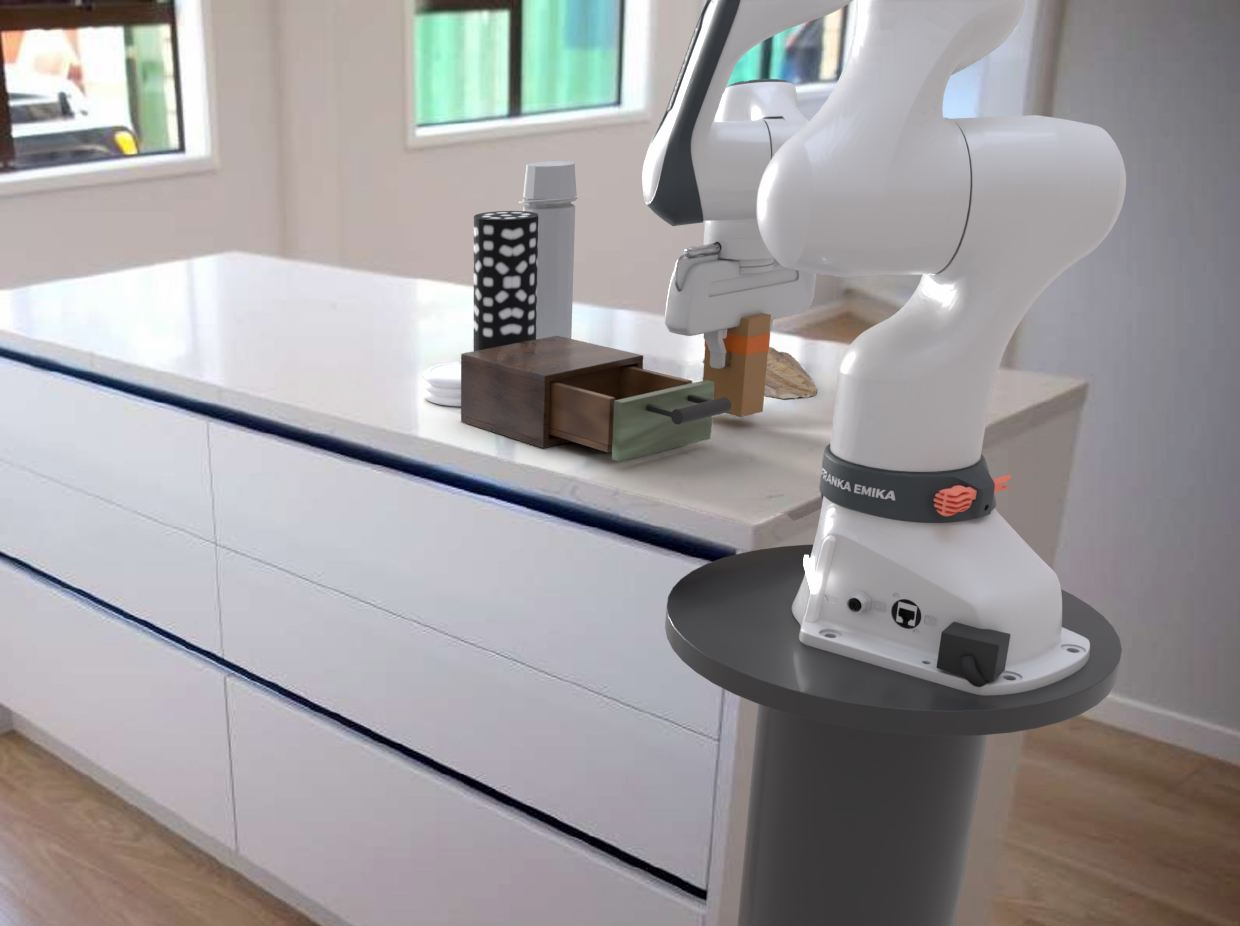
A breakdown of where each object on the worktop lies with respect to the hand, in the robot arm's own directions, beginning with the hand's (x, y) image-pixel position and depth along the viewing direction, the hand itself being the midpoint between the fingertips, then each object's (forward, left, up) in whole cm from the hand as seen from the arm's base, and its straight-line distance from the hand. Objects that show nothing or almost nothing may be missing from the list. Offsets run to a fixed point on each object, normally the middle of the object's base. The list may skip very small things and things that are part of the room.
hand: (735, 363), depth 159 cm
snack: (0, 0, -5) cm, 5 cm away
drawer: (-1, +16, -6) cm, 17 cm away
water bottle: (+45, -11, -7) cm, 47 cm away
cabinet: (+13, +16, -7) cm, 22 cm away
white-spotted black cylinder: (+38, +2, -7) cm, 39 cm away
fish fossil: (+13, -20, -7) cm, 25 cm away
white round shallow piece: (+29, +16, -7) cm, 34 cm away
